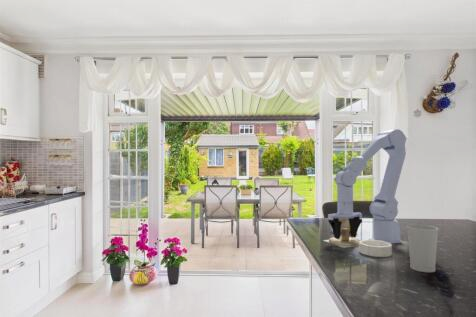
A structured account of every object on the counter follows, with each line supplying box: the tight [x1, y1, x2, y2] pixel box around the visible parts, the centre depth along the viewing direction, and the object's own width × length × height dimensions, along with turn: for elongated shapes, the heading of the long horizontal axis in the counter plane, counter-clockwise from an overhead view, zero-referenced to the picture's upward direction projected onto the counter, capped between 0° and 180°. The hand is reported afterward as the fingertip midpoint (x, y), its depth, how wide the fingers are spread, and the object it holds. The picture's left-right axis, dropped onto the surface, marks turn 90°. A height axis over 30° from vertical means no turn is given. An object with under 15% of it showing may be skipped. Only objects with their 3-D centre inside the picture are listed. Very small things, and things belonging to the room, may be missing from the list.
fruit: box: [338, 217, 350, 234], centre depth 141 cm, size 10×11×10 cm
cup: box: [406, 224, 439, 273], centre depth 92 cm, size 8×8×12 cm
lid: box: [328, 228, 361, 247], centre depth 121 cm, size 12×12×5 cm
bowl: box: [358, 239, 393, 258], centre depth 107 cm, size 10×10×4 cm
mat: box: [322, 239, 356, 249], centre depth 121 cm, size 12×12×1 cm
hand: (345, 237), depth 121 cm, fingers open, 7 cm apart
